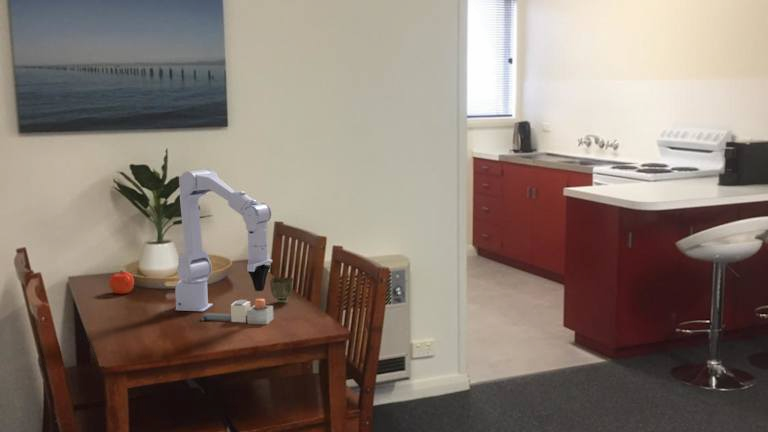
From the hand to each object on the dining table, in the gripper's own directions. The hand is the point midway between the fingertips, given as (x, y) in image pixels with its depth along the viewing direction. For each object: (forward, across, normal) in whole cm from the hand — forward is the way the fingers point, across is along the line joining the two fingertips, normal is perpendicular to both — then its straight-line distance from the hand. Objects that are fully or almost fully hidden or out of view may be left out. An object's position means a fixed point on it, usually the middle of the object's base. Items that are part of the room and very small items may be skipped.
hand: (259, 290), depth 237 cm
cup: (+10, +21, 0) cm, 23 cm away
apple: (+10, +26, +58) cm, 64 cm away
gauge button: (+5, 0, 0) cm, 5 cm away
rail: (+9, 0, +10) cm, 14 cm away
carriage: (+9, 0, +6) cm, 11 cm away
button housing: (+9, 0, 0) cm, 9 cm away
